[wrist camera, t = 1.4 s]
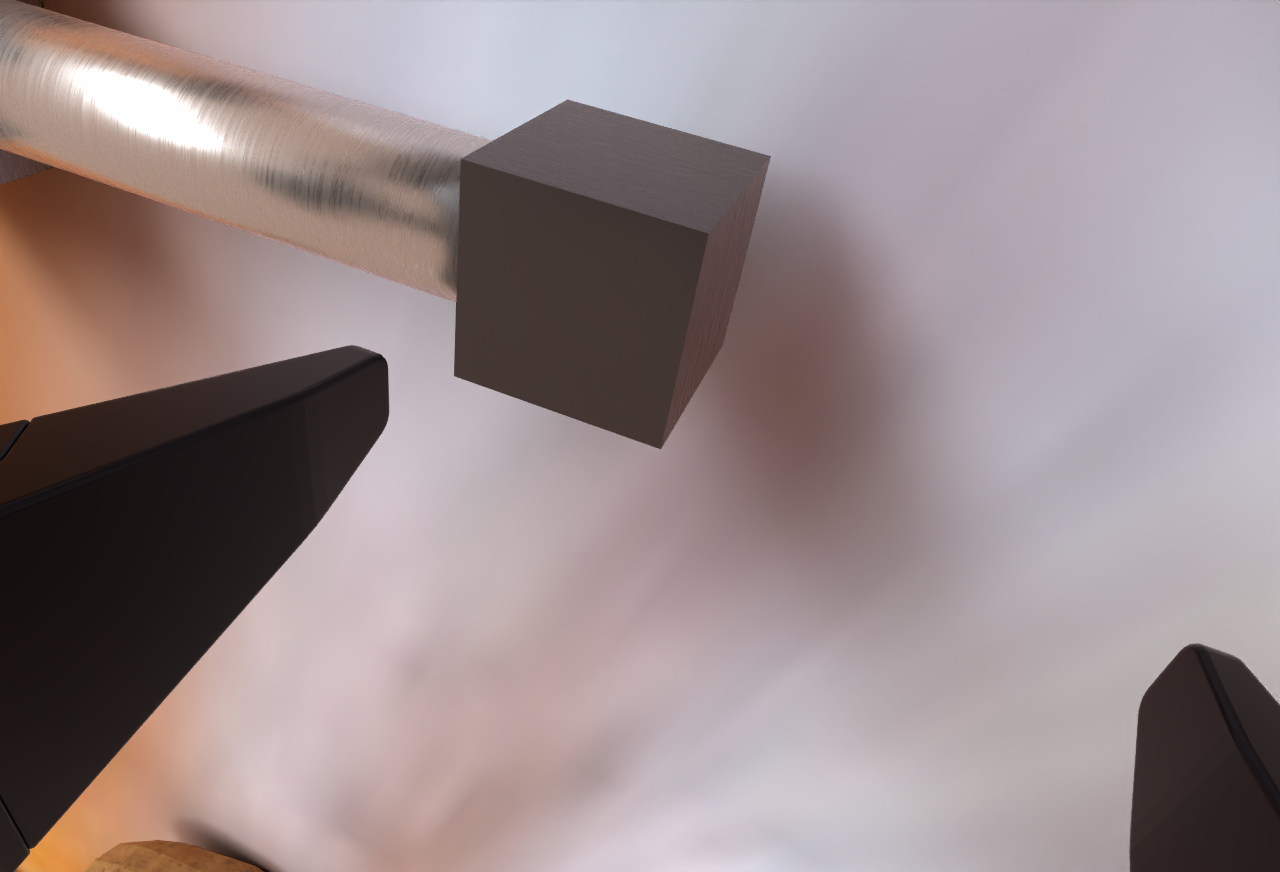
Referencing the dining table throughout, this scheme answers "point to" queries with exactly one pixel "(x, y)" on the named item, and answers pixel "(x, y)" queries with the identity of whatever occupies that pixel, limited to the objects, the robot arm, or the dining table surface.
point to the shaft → (424, 207)
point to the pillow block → (13, 166)
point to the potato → (166, 859)
